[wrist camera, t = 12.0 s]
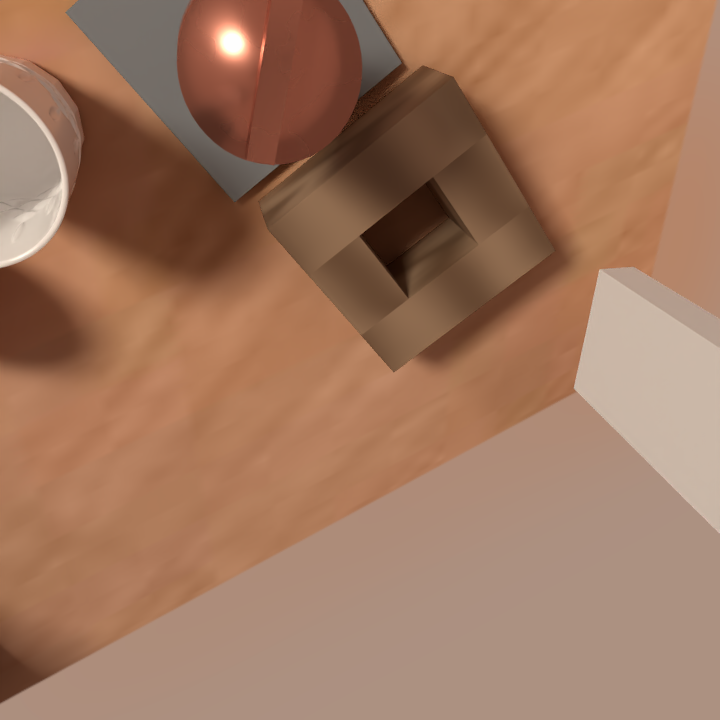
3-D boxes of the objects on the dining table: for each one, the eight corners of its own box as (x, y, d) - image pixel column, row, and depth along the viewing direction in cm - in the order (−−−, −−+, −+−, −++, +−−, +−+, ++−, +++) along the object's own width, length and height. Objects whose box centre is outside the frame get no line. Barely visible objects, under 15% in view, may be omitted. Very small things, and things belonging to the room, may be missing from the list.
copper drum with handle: (185, -50, 32) (188, -63, 20) (316, -14, 34) (387, -7, 22) (171, 91, 34) (166, 151, 23) (292, 117, 36) (344, 184, 25)
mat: (234, 199, 38) (234, 202, 38) (67, 11, 32) (65, 12, 32) (398, 61, 37) (401, 63, 36) (256, -165, 31) (258, -167, 30)
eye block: (374, 335, 45) (393, 372, 41) (258, 201, 39) (267, 229, 35) (519, 224, 43) (555, 250, 39) (422, 65, 37) (453, 77, 33)
